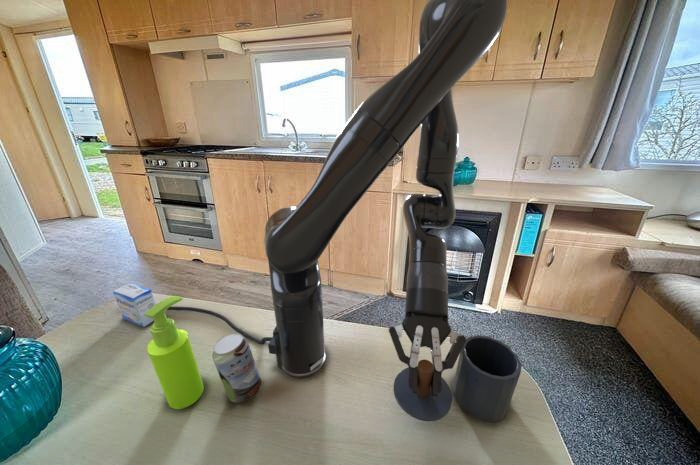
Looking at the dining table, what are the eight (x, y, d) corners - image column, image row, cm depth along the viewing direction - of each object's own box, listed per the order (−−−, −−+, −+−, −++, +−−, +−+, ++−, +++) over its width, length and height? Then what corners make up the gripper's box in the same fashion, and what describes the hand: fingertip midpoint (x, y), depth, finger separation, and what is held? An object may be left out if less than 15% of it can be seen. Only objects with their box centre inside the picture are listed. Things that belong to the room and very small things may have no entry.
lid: (392, 417, 45) (394, 387, 43) (394, 367, 54) (396, 339, 52) (455, 429, 44) (463, 398, 41) (447, 374, 53) (452, 346, 50)
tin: (457, 417, 48) (467, 374, 44) (449, 372, 56) (457, 332, 52) (514, 426, 47) (530, 383, 42) (497, 379, 55) (510, 339, 51)
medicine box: (123, 319, 70) (111, 291, 67) (140, 308, 74) (130, 281, 71) (143, 327, 68) (132, 299, 64) (161, 316, 72) (151, 288, 68)
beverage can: (251, 410, 49) (241, 361, 44) (215, 402, 50) (200, 353, 46) (268, 379, 55) (260, 332, 50) (234, 373, 56) (224, 327, 51)
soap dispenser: (214, 380, 55) (191, 297, 46) (185, 413, 49) (152, 325, 40) (191, 372, 56) (165, 290, 48) (160, 403, 50) (124, 316, 42)
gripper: (389, 282, 50) (381, 391, 44) (471, 290, 47) (475, 406, 41) (389, 289, 57) (382, 384, 51) (460, 296, 54) (462, 396, 48)
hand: (424, 393), depth 46 cm, fingers closed on lid, 2 cm apart
